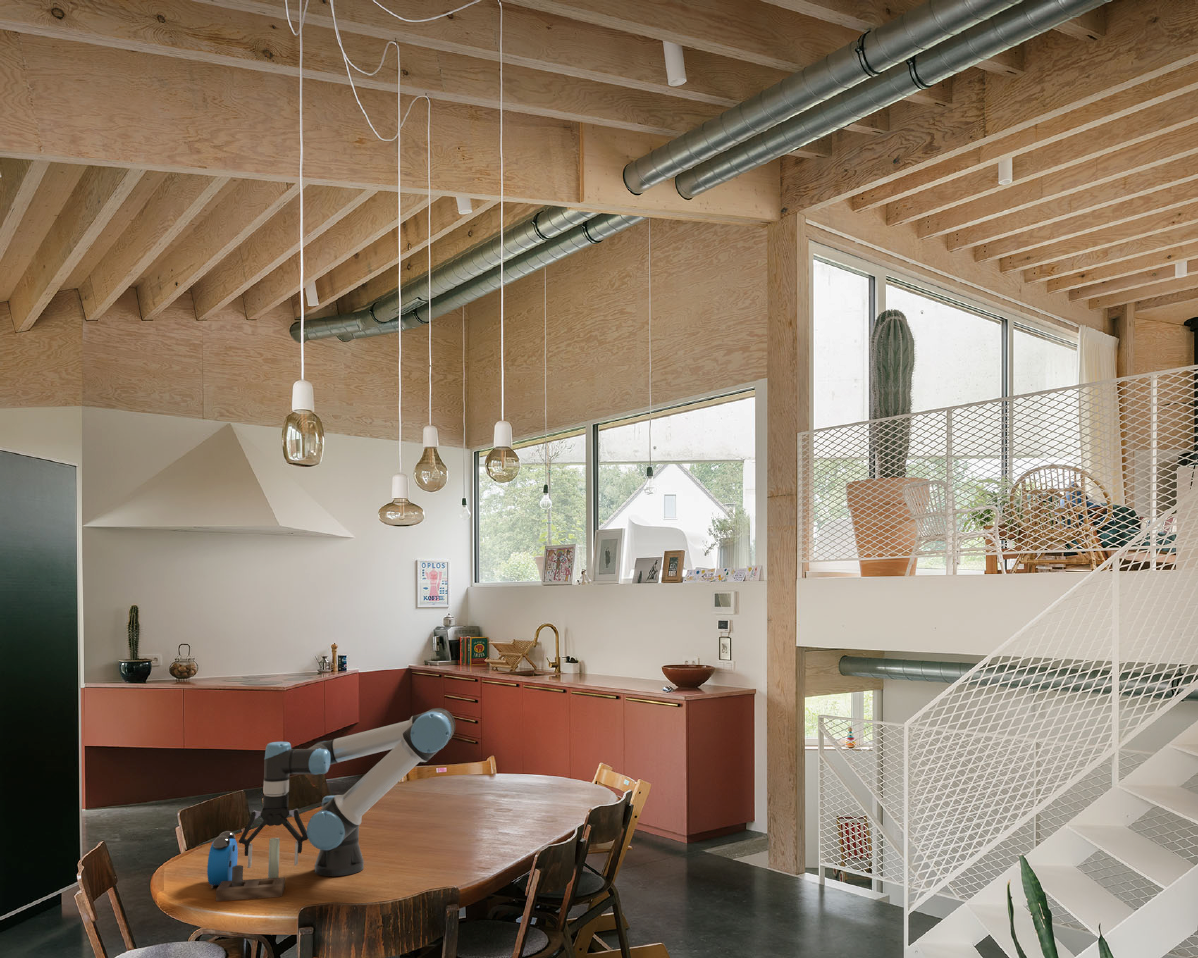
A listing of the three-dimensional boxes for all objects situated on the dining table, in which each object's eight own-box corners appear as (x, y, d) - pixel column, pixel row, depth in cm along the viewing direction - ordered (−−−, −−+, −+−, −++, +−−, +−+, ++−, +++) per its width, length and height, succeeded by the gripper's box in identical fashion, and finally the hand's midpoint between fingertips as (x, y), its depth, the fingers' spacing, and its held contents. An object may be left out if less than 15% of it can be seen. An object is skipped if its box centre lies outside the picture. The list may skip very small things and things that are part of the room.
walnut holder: (284, 887, 287) (285, 859, 288) (281, 896, 278) (282, 867, 279) (221, 891, 283) (222, 863, 284) (215, 900, 274) (216, 871, 275)
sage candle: (278, 881, 293) (280, 837, 295) (277, 884, 290) (279, 839, 292) (268, 881, 292) (270, 837, 294) (267, 884, 289) (268, 840, 291)
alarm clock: (217, 878, 296) (219, 828, 298) (237, 877, 297) (239, 827, 299) (205, 891, 283) (208, 839, 285) (227, 890, 284) (229, 838, 286)
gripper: (318, 789, 301) (316, 859, 298) (235, 792, 295) (231, 864, 293) (316, 794, 293) (314, 866, 291) (231, 797, 288) (227, 871, 286)
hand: (272, 865), depth 292 cm, fingers open, 13 cm apart
